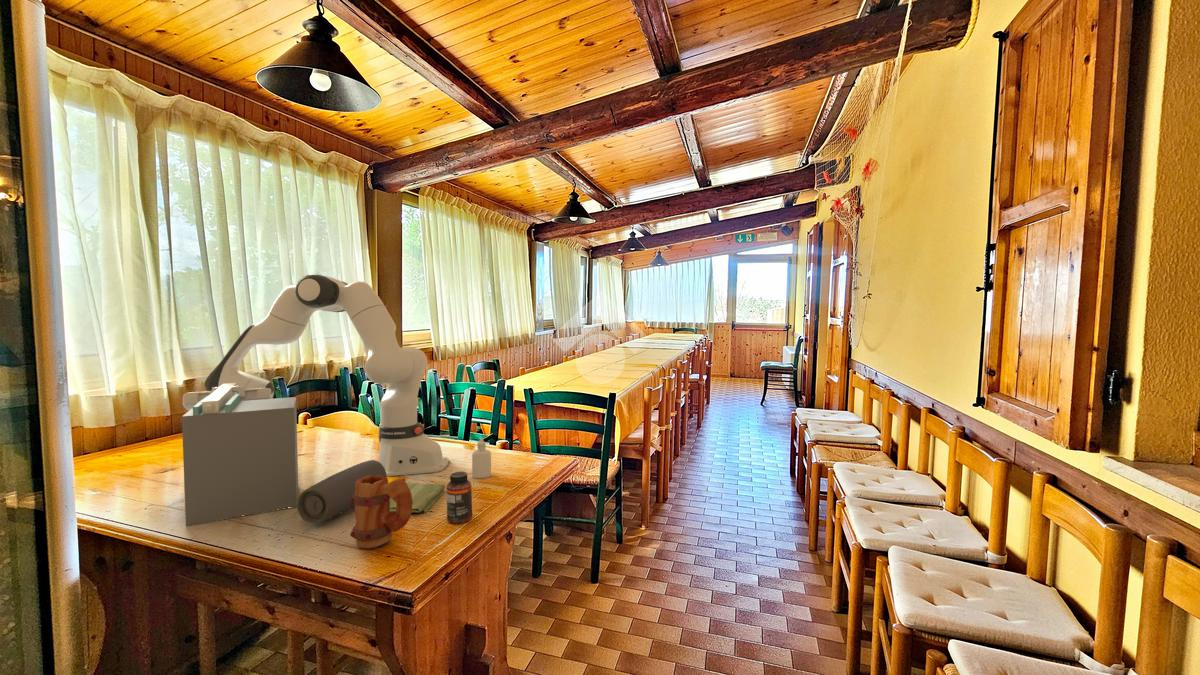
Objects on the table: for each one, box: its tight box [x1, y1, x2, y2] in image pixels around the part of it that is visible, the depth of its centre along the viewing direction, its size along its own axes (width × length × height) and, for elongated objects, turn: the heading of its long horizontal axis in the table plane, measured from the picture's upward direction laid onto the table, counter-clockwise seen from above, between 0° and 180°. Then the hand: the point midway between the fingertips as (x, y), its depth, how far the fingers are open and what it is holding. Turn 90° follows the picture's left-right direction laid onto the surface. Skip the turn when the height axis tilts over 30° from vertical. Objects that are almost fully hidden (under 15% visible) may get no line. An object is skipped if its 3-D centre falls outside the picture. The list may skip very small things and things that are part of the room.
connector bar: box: [202, 383, 236, 414], centre depth 126 cm, size 31×3×3 cm, turn 30°
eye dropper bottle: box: [471, 437, 492, 479], centre depth 148 cm, size 4×6×12 cm
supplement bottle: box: [445, 470, 473, 524], centre depth 117 cm, size 6×6×11 cm
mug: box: [349, 476, 413, 549], centre depth 103 cm, size 15×8×15 cm, turn 69°
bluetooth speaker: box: [296, 459, 388, 524], centre depth 123 cm, size 23×9×10 cm, turn 171°
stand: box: [181, 394, 299, 527], centre depth 125 cm, size 18×22×28 cm
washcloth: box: [390, 481, 447, 514], centre depth 128 cm, size 13×18×3 cm
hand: (225, 389), depth 133 cm, fingers closed on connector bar, 3 cm apart
